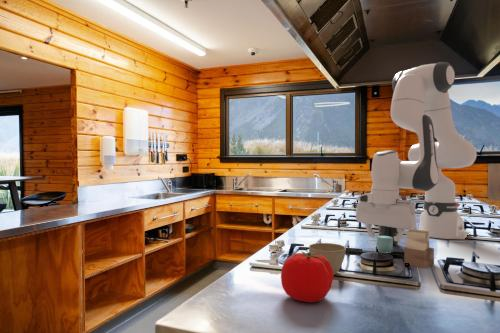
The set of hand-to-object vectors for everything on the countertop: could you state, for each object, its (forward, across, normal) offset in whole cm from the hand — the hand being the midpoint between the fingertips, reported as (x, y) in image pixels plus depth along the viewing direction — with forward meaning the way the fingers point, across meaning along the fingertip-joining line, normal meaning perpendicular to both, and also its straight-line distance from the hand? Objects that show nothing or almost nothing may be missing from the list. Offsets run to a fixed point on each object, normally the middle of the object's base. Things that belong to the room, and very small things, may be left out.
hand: (384, 239), depth 119 cm
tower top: (0, -14, +5) cm, 14 cm away
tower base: (+5, -14, +4) cm, 15 cm away
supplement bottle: (+4, +5, -12) cm, 13 cm away
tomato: (+6, -11, +50) cm, 52 cm away
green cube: (+4, 0, -1) cm, 5 cm away
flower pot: (+5, -2, +32) cm, 33 cm away
